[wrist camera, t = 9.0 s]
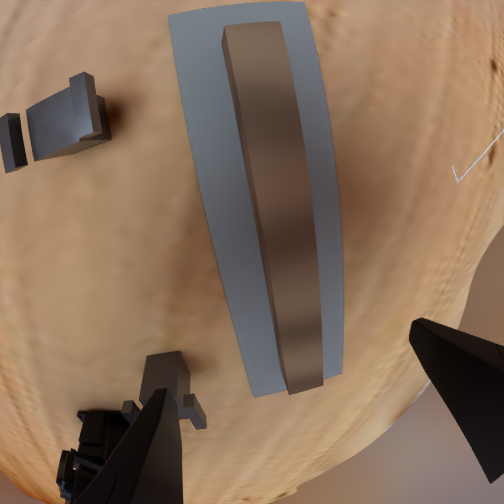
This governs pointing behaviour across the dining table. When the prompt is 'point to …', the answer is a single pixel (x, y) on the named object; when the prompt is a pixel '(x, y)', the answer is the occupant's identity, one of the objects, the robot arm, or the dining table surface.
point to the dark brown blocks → (176, 380)
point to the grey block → (57, 125)
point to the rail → (278, 193)
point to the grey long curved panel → (236, 185)
